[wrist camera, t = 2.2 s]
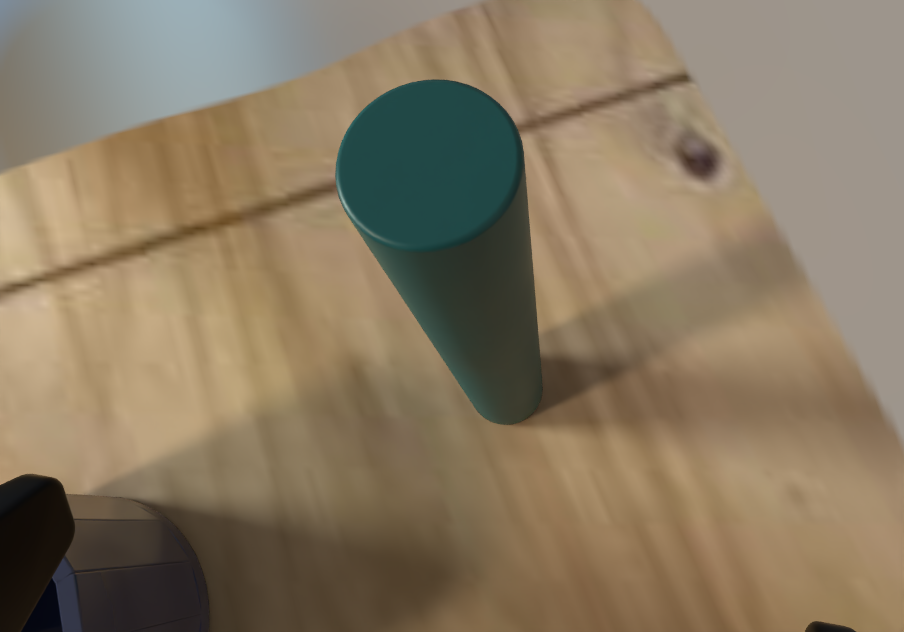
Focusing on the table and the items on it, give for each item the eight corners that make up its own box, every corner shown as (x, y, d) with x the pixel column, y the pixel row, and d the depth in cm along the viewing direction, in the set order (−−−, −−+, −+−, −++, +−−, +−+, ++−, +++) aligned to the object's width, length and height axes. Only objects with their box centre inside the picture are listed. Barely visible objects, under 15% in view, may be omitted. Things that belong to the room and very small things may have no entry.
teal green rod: (541, 426, 19) (520, 251, 7) (467, 423, 20) (323, 249, 7) (543, 354, 20) (527, 73, 8) (471, 352, 20) (344, 78, 8)
